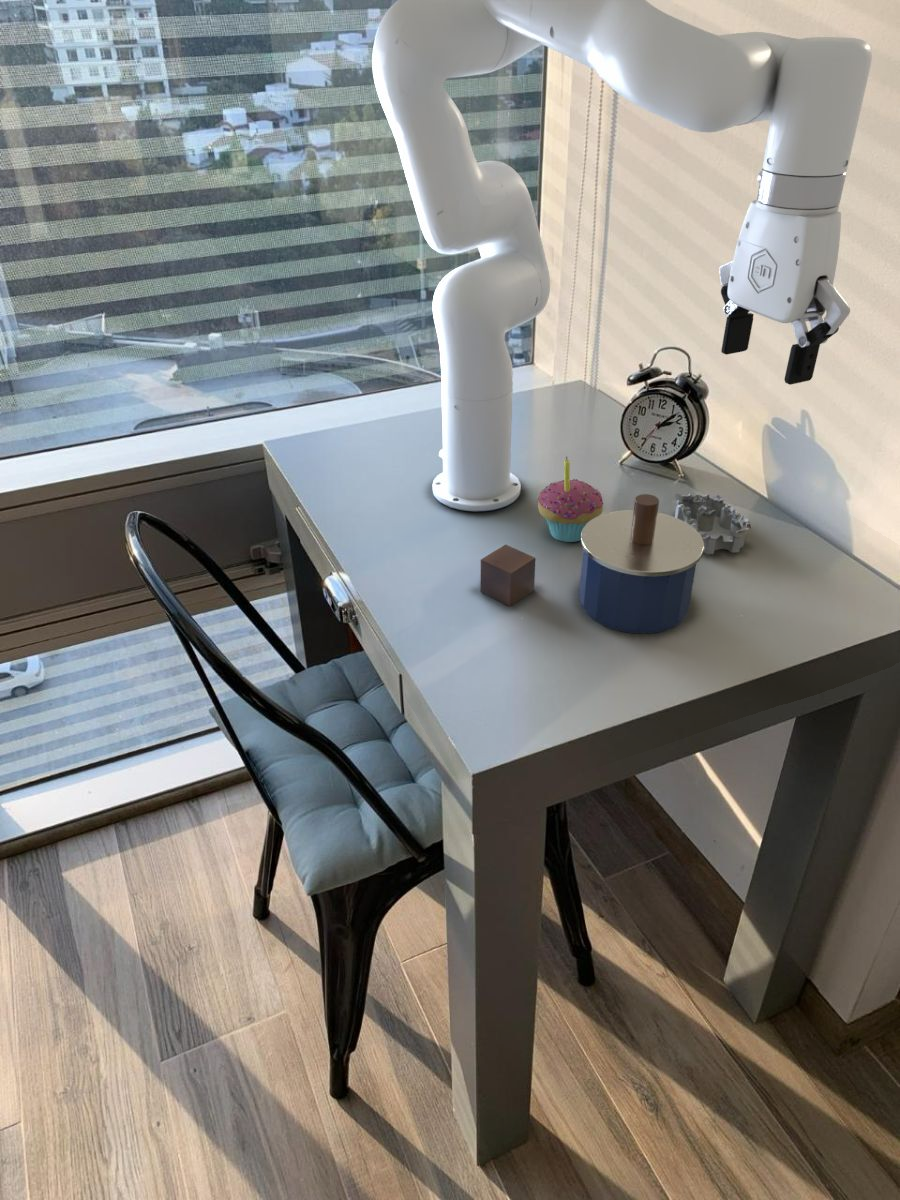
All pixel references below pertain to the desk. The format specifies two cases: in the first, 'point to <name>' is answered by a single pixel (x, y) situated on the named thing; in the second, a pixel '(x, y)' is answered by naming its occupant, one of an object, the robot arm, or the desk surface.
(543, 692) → the desk surface
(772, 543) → the desk surface
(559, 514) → the cupcake
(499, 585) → the block
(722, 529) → the egg carton
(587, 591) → the blue bowl
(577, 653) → the desk surface
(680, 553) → the lid
